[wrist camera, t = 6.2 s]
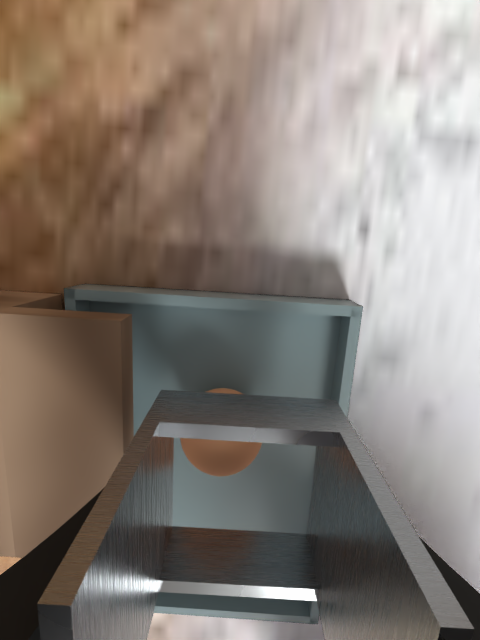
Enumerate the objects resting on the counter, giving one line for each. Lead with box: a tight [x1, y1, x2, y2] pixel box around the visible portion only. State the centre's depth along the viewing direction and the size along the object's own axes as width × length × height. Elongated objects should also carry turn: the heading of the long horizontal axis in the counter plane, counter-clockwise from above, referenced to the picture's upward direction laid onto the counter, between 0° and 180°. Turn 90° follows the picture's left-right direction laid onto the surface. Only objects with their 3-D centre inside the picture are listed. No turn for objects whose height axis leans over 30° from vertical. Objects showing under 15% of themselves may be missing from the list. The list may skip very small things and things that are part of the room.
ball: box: [180, 388, 262, 476], centre depth 13 cm, size 3×3×3 cm
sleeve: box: [37, 390, 474, 640], centre depth 7 cm, size 5×5×6 cm
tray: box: [64, 284, 363, 624], centre depth 14 cm, size 11×15×2 cm
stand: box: [0, 290, 134, 558], centre depth 13 cm, size 10×9×4 cm
